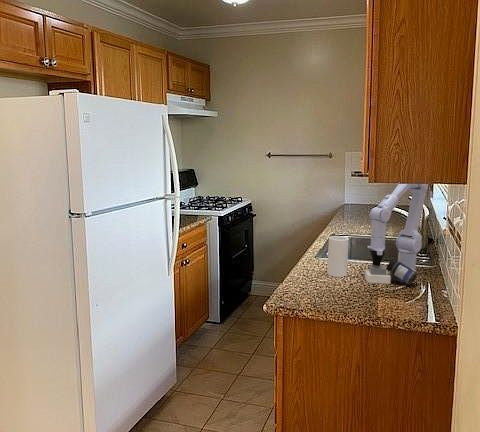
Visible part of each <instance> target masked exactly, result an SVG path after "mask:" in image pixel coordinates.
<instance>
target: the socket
mask: <svg viewBox="0 0 480 432" xmlns="http://www.w3.org/2000/svg"><path fill="white" fill-rule="evenodd" d="M364 278H365V281H366V283H369V284H384V285H385V284H386V285H387V284H388V285H391V280H392V279H391V274H390V273H389V272H388V270H387V272H386V275H375V274H371V273H370V271H369V269H364Z"/></svg>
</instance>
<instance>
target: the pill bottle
mask: <svg viewBox="0 0 480 432" xmlns="http://www.w3.org/2000/svg"><path fill="white" fill-rule="evenodd" d="M385 268H386V269H387V271H389V272H390V275H391V274H392V275H393V276H395V277H397V278H398V279H400V280H401V281H402V282H403V283H405V284H406V285H408V286H411V285H412V284H413V283H414V282H415V280H416V278H417V276H418V273H419V272H418V271H417V270H416V271H417V272H418V273H417V272H416V271H414V270H413V269H411V268H409V267H408V266H406V265H404V264H403V263H401V262H398V261H395V260H394V259H391V260H390V261H389V262H388V264H387V266H386V267H385ZM401 281H400V282H401Z"/></svg>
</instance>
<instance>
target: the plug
mask: <svg viewBox="0 0 480 432" xmlns="http://www.w3.org/2000/svg"><path fill="white" fill-rule="evenodd" d="M390 276H391V280H392V281H399V282H401V280H400V279H398V278H397V277H395V276H393V275H392V274H391V273H390Z"/></svg>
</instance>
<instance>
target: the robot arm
mask: <svg viewBox="0 0 480 432" xmlns="http://www.w3.org/2000/svg"><path fill="white" fill-rule="evenodd" d="M428 188H429V184H399V183H398V184H397V186H396V187H395V188H394V190H393V191H392V192H391V194H386V195H385V197H384V198H383V199H382V200H381V201H380V203H379V204H378V205H377V206H376V207H373V208H372V209H371V210H370V212H369V214H368V216H369V219H370V225H371V235H370V245H367V249H371V250H369V252H370V256H371V258H372V265H381V263H382V260H383V258H384V257H385V255H386V253H385V251H384V250H386V232H387V222H388V221H389V220H390V219H391V215H392V213H393V210H394V209H395V208H396V207H397V206H398V205H399V199H400V198H401V197H402V196H403V195H404V194H405V193H406V192H407V191H408V190H409V191H410V192H411V194H412V195H411V199H410V204H409V209H408V213H407V218H406V222H405V226H404V229H402V230H400V231H399V233H398V236H397V238H396V240H395V248H397V251H399V252H398V255H397V262H401V263H403V264H404V265H406V266H408V267H409V268H411V269H413V270H414V271H416V272H417V273H419V272H418V271H417V270H416V266H417V265H416V264H417V253H419V251H421V249H422V246H423V245H422V239H423V236H422V235H421V234H420V233H419V231H418V230H419V225H420V220H421V218H422V217H421V216H422V213H423V209H424V203H425V198H426V196H427V195H426V193H427V192H428Z"/></svg>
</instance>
